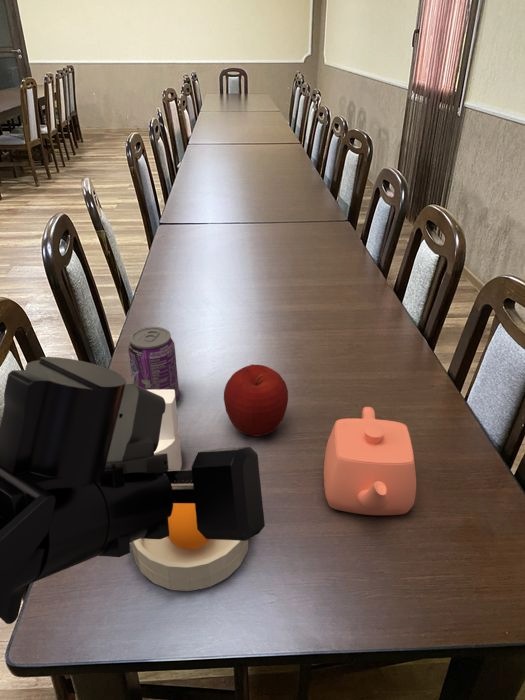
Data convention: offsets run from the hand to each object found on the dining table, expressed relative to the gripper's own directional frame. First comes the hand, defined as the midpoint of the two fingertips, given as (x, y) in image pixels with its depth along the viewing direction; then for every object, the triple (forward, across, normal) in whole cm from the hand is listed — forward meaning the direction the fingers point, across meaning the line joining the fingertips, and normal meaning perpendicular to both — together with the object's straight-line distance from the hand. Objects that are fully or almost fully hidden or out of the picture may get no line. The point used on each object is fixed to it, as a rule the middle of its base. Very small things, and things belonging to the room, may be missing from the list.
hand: (212, 474), depth 49 cm
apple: (+31, +13, -2) cm, 33 cm away
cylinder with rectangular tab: (+17, +23, +2) cm, 29 cm away
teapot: (+28, -4, +8) cm, 29 cm away
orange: (+11, +12, +9) cm, 19 cm away
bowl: (+11, +12, +10) cm, 19 cm away
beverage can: (+28, +30, -8) cm, 41 cm away
